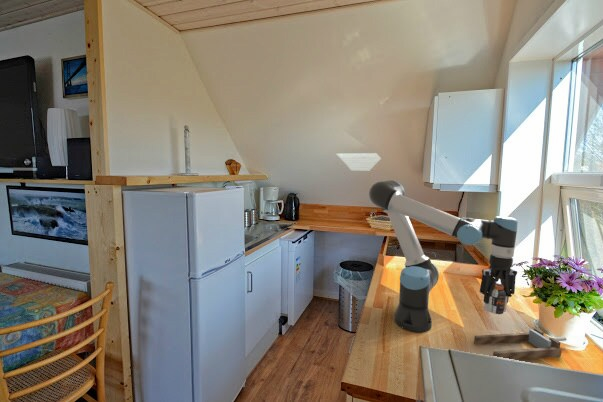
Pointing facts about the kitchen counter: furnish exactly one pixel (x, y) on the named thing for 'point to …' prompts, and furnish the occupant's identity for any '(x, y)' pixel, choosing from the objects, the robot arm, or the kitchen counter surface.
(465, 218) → the robot arm
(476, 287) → the kitchen counter surface
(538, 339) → the pusher
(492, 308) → the pill bottle
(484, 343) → the lane
